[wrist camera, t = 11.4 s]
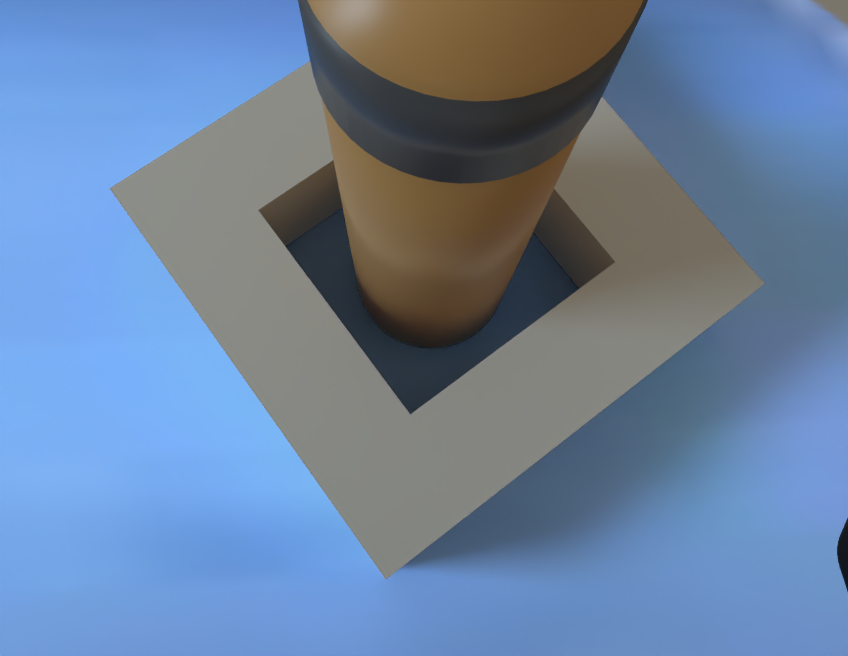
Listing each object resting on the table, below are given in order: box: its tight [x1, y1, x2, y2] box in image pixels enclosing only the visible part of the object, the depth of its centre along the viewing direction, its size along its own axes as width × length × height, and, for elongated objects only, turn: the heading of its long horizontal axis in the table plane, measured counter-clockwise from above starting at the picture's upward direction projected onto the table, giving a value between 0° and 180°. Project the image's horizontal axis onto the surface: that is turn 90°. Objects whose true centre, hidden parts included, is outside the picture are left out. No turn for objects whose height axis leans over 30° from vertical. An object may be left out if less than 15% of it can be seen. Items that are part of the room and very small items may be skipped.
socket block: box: [110, 61, 765, 579], centre depth 19 cm, size 11×11×4 cm
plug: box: [298, 0, 648, 348], centre depth 15 cm, size 4×4×13 cm
